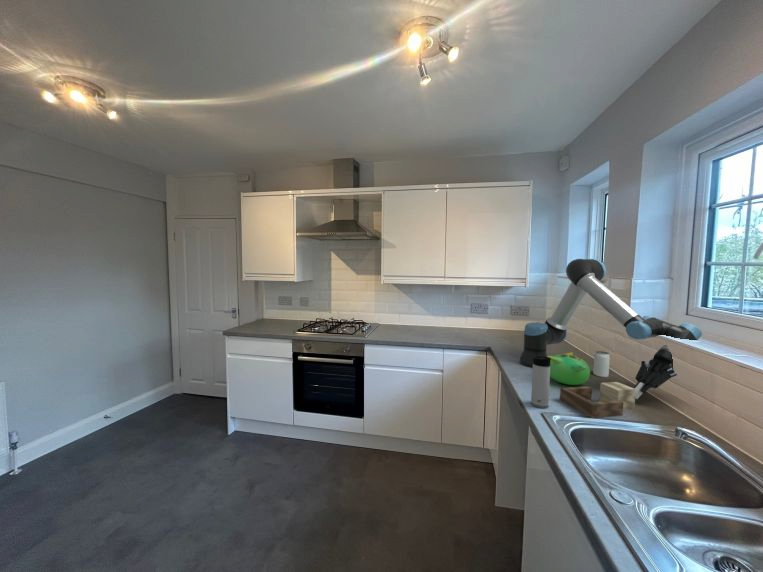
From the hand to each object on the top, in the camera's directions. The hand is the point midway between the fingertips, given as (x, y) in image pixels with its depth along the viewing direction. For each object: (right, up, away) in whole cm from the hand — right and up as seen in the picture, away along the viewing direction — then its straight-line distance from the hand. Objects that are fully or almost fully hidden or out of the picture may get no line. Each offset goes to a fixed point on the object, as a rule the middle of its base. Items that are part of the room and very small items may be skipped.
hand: (633, 396), depth 128 cm
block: (-8, -3, -1) cm, 9 cm away
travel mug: (-40, -3, -3) cm, 40 cm away
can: (+10, -1, +34) cm, 36 cm away
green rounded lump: (-15, -2, +22) cm, 26 cm away
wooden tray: (-20, -3, -3) cm, 20 cm away
